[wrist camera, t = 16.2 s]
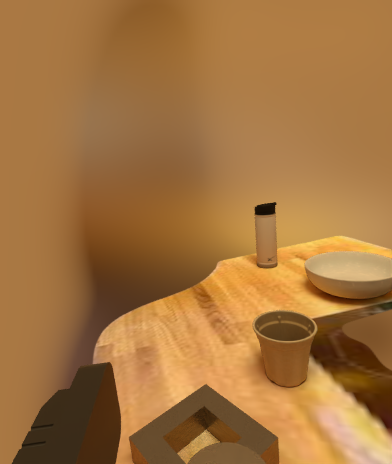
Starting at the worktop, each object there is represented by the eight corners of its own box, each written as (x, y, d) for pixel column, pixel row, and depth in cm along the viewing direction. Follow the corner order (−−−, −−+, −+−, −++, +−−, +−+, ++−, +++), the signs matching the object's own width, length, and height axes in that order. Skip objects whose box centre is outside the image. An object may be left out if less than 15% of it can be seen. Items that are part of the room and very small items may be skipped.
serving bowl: (315, 271, 89) (314, 248, 88) (401, 280, 78) (402, 254, 76) (295, 300, 72) (294, 273, 71) (401, 318, 61) (403, 285, 59)
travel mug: (275, 269, 93) (272, 204, 89) (254, 267, 96) (251, 204, 92) (280, 262, 98) (278, 201, 94) (261, 261, 102) (258, 201, 97)
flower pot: (245, 363, 52) (242, 317, 50) (294, 349, 54) (293, 305, 52) (274, 403, 43) (272, 348, 41) (331, 384, 45) (331, 332, 43)
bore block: (207, 405, 43) (205, 384, 43) (279, 463, 34) (278, 437, 34) (133, 461, 36) (128, 437, 35) (198, 554, 27) (194, 524, 26)
